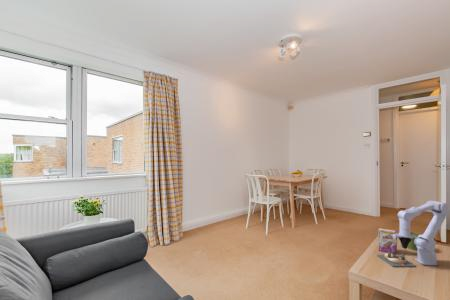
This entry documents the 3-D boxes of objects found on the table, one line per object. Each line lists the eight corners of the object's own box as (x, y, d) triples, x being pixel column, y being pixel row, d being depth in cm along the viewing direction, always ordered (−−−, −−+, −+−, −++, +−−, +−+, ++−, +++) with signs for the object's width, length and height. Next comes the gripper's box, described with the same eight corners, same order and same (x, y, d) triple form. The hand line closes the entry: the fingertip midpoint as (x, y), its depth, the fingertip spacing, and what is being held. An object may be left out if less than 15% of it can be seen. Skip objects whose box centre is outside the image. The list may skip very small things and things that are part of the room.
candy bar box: (378, 250, 164) (378, 229, 164) (378, 248, 168) (378, 227, 168) (397, 254, 158) (397, 232, 158) (396, 251, 162) (396, 230, 162)
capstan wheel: (411, 263, 143) (411, 255, 143) (394, 264, 142) (394, 256, 142) (395, 254, 155) (395, 247, 155) (380, 255, 154) (380, 247, 154)
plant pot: (407, 250, 164) (407, 236, 164) (400, 244, 175) (399, 230, 175) (426, 252, 161) (426, 238, 161) (417, 245, 172) (417, 232, 172)
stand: (397, 255, 156) (397, 254, 156) (415, 267, 141) (415, 265, 141) (377, 255, 156) (377, 254, 156) (392, 267, 141) (392, 265, 141)
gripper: (410, 226, 150) (410, 245, 150) (389, 226, 150) (389, 245, 150) (419, 230, 143) (419, 250, 143) (397, 229, 143) (397, 249, 143)
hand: (404, 248), depth 146 cm, fingers closed
